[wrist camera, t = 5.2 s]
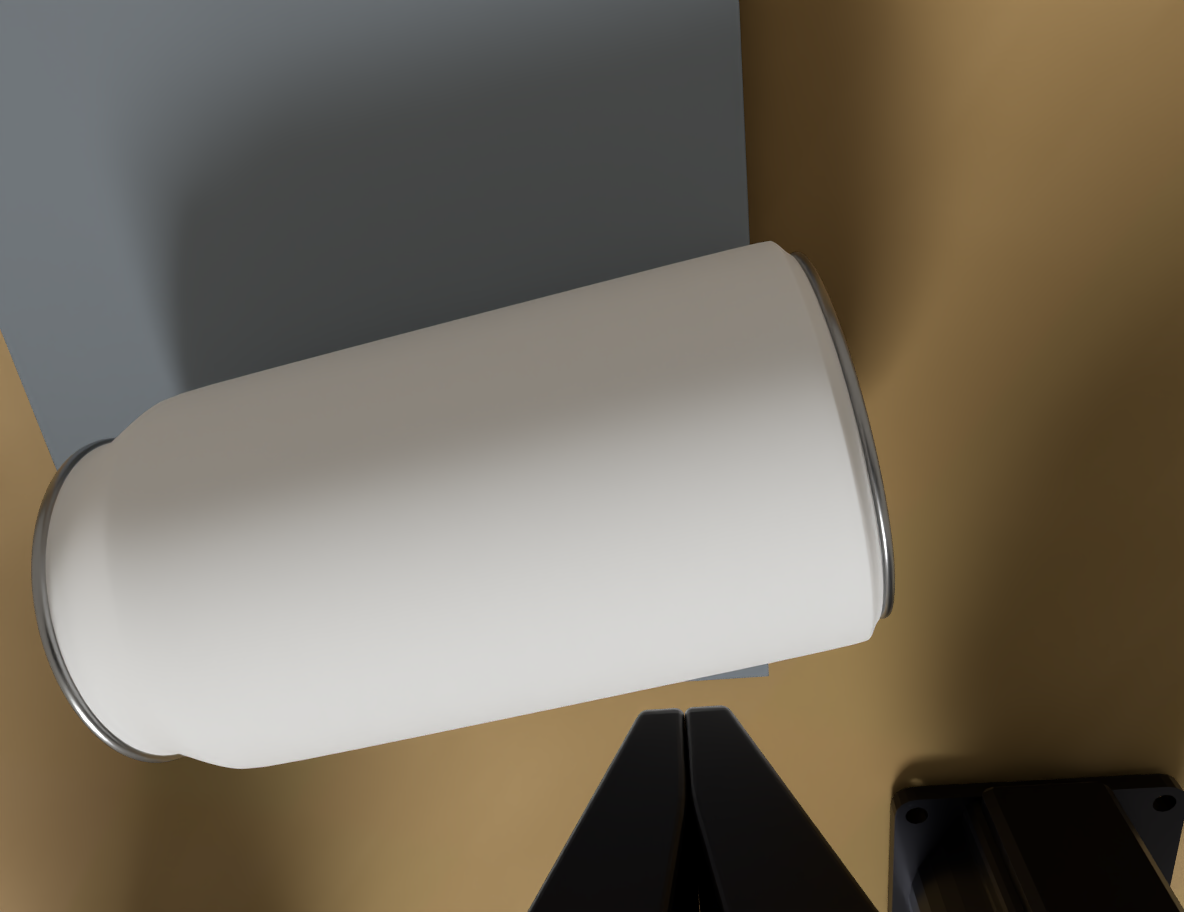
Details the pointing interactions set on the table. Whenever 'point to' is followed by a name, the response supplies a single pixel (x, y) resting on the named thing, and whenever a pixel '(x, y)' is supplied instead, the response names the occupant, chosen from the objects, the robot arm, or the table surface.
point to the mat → (337, 177)
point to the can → (473, 521)
